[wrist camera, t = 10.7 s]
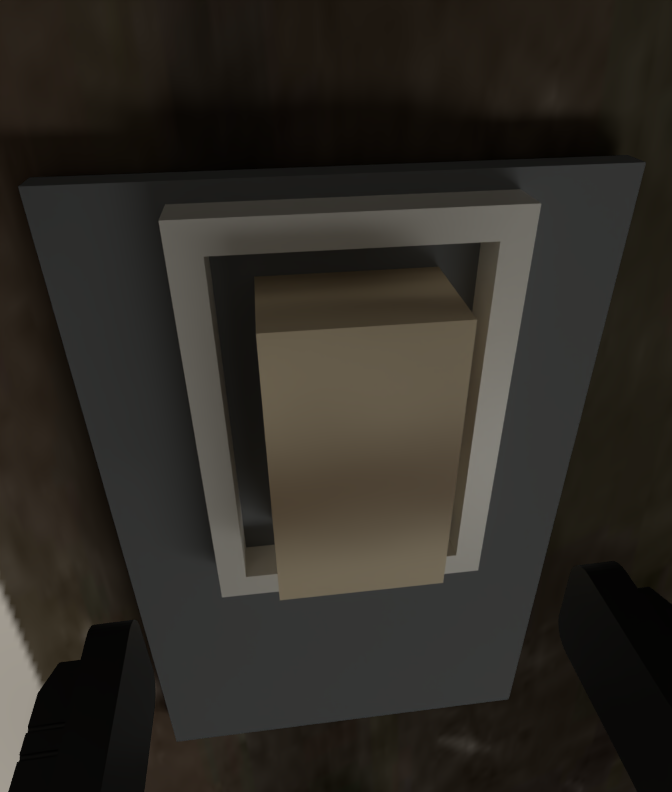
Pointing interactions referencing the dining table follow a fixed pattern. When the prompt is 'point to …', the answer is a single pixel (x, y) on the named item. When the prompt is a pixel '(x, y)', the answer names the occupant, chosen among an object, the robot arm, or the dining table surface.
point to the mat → (178, 458)
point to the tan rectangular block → (362, 424)
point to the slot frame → (336, 230)
